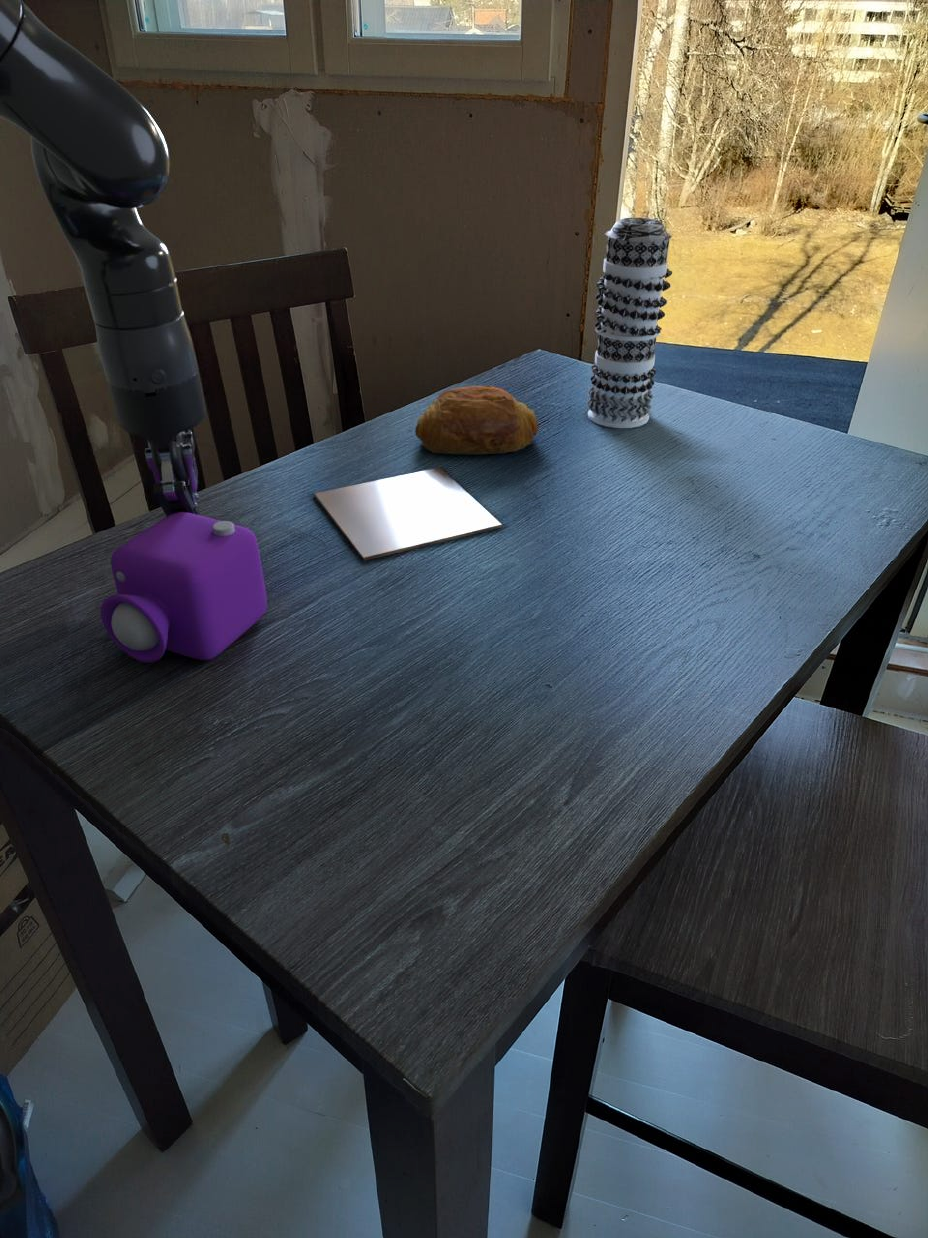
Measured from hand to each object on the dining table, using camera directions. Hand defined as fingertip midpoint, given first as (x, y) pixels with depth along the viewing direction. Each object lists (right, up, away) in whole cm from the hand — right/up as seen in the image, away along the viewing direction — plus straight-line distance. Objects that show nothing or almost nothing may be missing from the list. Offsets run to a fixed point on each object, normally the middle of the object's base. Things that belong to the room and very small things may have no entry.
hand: (192, 541), depth 83 cm
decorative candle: (+48, +20, +35) cm, 63 cm away
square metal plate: (+20, +5, +12) cm, 24 cm away
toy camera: (+2, -9, -7) cm, 12 cm away
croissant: (+28, +16, +29) cm, 43 cm away
